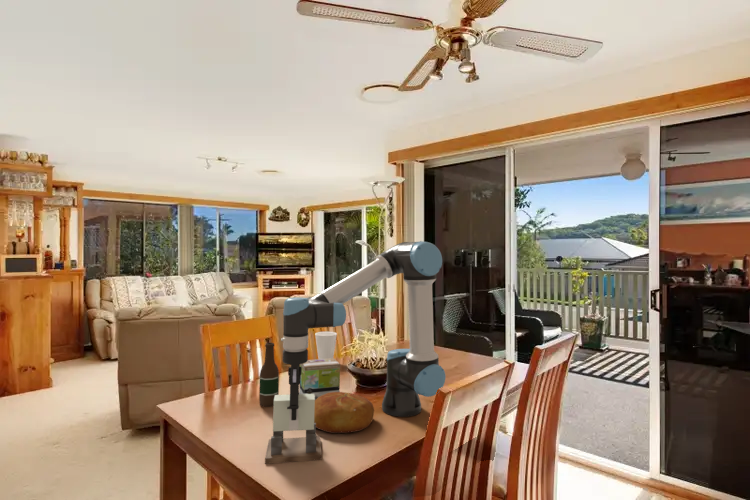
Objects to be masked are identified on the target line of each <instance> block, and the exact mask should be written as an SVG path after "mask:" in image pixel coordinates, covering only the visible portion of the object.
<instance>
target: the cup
mask: <svg viewBox="0 0 750 500" xmlns="http://www.w3.org/2000/svg"><path fill="white" fill-rule="evenodd" d="M314 336H315V343H316V351H317V357H318V358H317V359H330V358H334V356H335V355H334V354H335V349H336V343H337V336H338V333H337V332H335V331H317V332H315V334H314Z"/></svg>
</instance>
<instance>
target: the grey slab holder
mask: <svg viewBox="0 0 750 500" xmlns="http://www.w3.org/2000/svg"><path fill="white" fill-rule="evenodd" d="M316 429H317V427H316V423H314V430H305V436H303V437H286V438H284V431H273V430H272V436H271V437H270V438H269V439H268V441H267V446H266V447H267V448H266V452H265V457H264V465H265V464H266V465H267V464H279V463H280V464H282V463H293V462H294V463H295V462H308V461H320V460H321V461H322V447H321V446H322V444H321V435H317V431H316Z"/></svg>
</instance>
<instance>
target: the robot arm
mask: <svg viewBox="0 0 750 500" xmlns="http://www.w3.org/2000/svg"><path fill="white" fill-rule="evenodd" d="M442 266H443V257H442V253H441V251H440V249H439V248H438V247H437V246H436V245H435V244H434V243H431V242H428V241H422V240H420V241H403V242H399V243H397V244H395V245H393V246H392V247H390V248H388V249H386V250H385V251H383V252H381V253H380V254H378V255H377V256H376V257H375V260H374V261H371V262H370V263H368V264H367V265H365V266H362V268H360V269H358V270H356V271H355V272H353V273H352V274H350V275H348V276H347V277H345V278H343V279H342V280H340V281H338V282H336V283H335V284H333V285H331V286H330V287H327V288H326V289H324V290H323V291H321V292H319V293H317V294H315V295H314V296H312V297H296V296H295V297H289V298H286V299H285V300H284V302H283V313H282V316H283V317H282V318H283V319H282V321H283V325H282V326H283V328H282V329H283V335H282V338H281V339H280V341H281V342H282V348H283V350H282V362H283V364H286V365H290V366H289V367H288V369H287V374H288V384H289V395H290V406H289V407H287V409H289V432H290V430H293V431H299V430H298V421H299V406H298V395H299V386H300V381H301V373H302V367H300V364H303V363H306V362H307V361H308V360H309V358H308V357H309V350H308V348H309V329H320V328H335V327H342V326H343V325H344V324H345V322H346V320H347V311H346V307H345V305H344V304H345V303H347V302H349V301H350V300H352V299H353V298H355V297H357V296H358V295H360V294H361V293H363V292H364V291H367V290H368V289H369V288H371V287H373V286H375V285H376V284H378V283H380V281H382V280H384V279H390V278H393V277H394V276H396V275H400V274H402V275H403V276H402V277H403V281H404V282H405V283H406V284H407V293H408V294H407V295H408V297H407V299H408V302H407V303H408V327H409V328H408V329H409V333H408V334H409V348H397V349H396V348H395V349H392V350H388V352H387V355H386V390H385V393H384V396H383V399H382V403H381V410H382V412H383V413H385V414H387V415H390V416H393V417H394V416H395V417H401V418H403V417H405V418H407V417H412V416H417V415H419V414H420V413H421V412H422V403H421V399H420V396H423V397H427V398H431V397H433V396H435V395H437V394H436V392H437V390H438V389H439V388H441V387H442V388H443V387H444V385H445V383H446V376H447V375H446V372H445V370H444V368H443V367H442V366H441V365H440V362H439V358H440V357H439V354H438V353H437V352H436V351H435V344H434V343H435V339H434V305H433V283H434V282H435V281H436V280H437V274H438V273H439V272H440V269H442ZM442 388H441V389H442Z"/></svg>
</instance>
